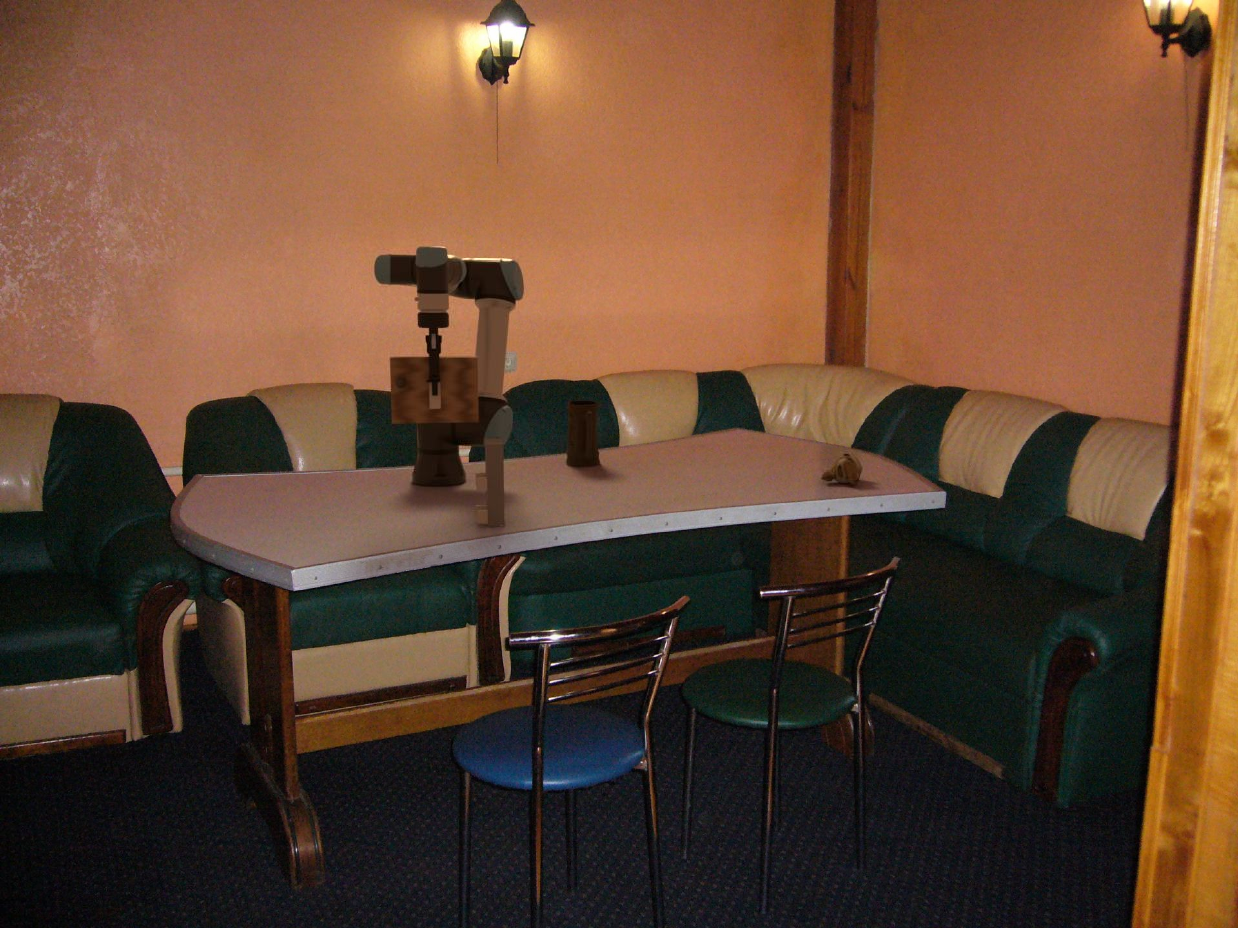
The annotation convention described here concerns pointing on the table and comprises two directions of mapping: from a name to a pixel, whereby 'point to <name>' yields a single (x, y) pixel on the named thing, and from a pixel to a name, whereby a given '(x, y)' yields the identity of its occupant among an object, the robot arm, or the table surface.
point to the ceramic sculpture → (844, 470)
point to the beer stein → (582, 434)
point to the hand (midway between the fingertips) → (435, 407)
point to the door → (414, 390)
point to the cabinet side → (492, 485)
